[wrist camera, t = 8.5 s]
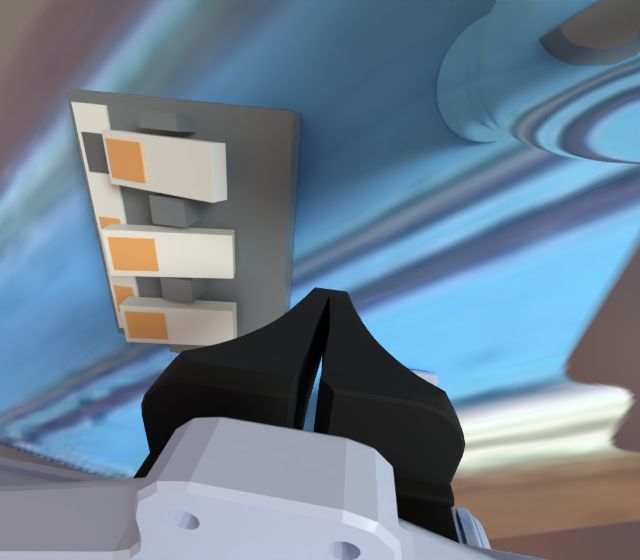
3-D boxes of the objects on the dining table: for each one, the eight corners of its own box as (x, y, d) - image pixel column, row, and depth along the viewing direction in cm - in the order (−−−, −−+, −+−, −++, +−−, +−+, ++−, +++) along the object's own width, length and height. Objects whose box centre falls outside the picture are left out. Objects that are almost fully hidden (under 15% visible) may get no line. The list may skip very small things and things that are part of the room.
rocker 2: (236, 336, 22) (233, 347, 21) (135, 331, 22) (125, 342, 21) (236, 302, 21) (232, 312, 20) (128, 296, 20) (118, 306, 19)
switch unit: (287, 338, 26) (274, 376, 22) (139, 316, 27) (99, 348, 22) (301, 114, 19) (285, 106, 15) (99, 94, 20) (31, 82, 16)
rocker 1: (227, 199, 17) (211, 202, 16) (129, 181, 19) (109, 183, 18) (225, 143, 16) (208, 142, 14) (121, 130, 18) (99, 129, 16)
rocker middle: (235, 271, 20) (233, 279, 19) (119, 267, 19) (109, 276, 18) (234, 229, 19) (232, 236, 18) (110, 223, 18) (100, 229, 17)
